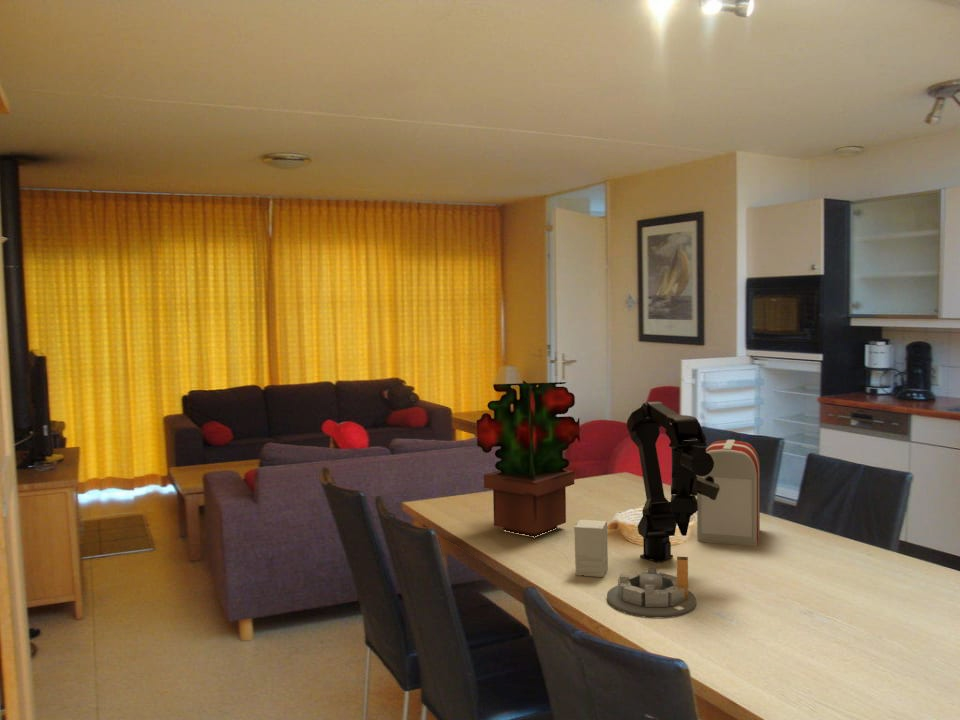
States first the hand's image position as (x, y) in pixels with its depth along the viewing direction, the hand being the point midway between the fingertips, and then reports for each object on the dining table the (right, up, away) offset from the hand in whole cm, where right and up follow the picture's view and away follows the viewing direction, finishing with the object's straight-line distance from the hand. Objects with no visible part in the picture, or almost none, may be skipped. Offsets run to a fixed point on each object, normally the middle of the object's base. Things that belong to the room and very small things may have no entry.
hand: (683, 530), depth 197 cm
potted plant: (-35, -10, +46) cm, 59 cm away
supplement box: (-22, -12, +7) cm, 26 cm away
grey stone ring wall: (-11, -12, -14) cm, 21 cm away
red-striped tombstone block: (+23, -9, +37) cm, 44 cm away
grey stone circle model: (-11, -13, -14) cm, 22 cm away
